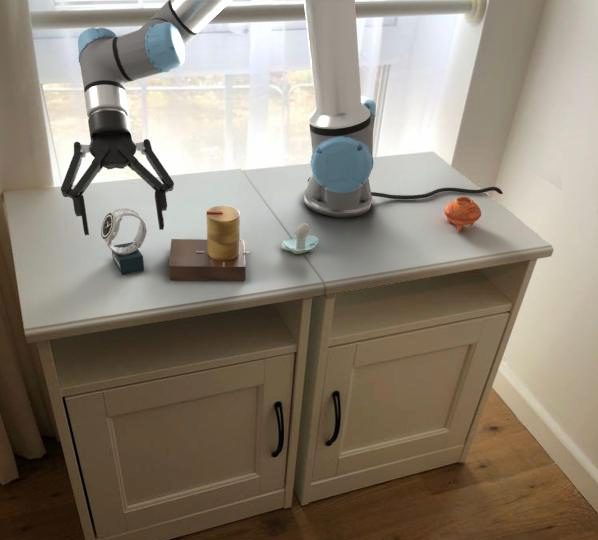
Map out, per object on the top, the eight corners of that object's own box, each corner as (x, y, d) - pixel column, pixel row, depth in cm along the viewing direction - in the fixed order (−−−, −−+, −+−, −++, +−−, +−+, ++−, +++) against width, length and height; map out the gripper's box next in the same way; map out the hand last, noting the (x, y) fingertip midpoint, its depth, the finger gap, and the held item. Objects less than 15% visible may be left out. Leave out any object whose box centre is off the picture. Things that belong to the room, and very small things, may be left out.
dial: (239, 244, 128) (239, 204, 122) (239, 260, 123) (240, 220, 118) (207, 244, 127) (206, 203, 122) (207, 260, 123) (206, 219, 117)
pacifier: (275, 246, 135) (289, 259, 131) (275, 217, 131) (290, 230, 127) (306, 239, 138) (320, 252, 134) (307, 211, 133) (323, 223, 130)
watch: (102, 262, 125) (94, 208, 118) (144, 254, 129) (138, 201, 121) (111, 277, 122) (103, 222, 115) (153, 268, 125) (148, 215, 118)
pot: (480, 236, 143) (481, 207, 138) (443, 238, 145) (442, 209, 140) (481, 218, 148) (481, 189, 144) (445, 220, 151) (444, 192, 146)
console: (249, 253, 132) (249, 238, 130) (251, 281, 124) (251, 266, 122) (172, 252, 130) (171, 237, 128) (169, 280, 122) (168, 265, 120)
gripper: (175, 124, 129) (190, 231, 129) (40, 129, 123) (56, 241, 123) (177, 106, 122) (193, 219, 122) (34, 110, 116) (51, 228, 116)
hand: (124, 230), depth 122 cm, fingers open, 13 cm apart
